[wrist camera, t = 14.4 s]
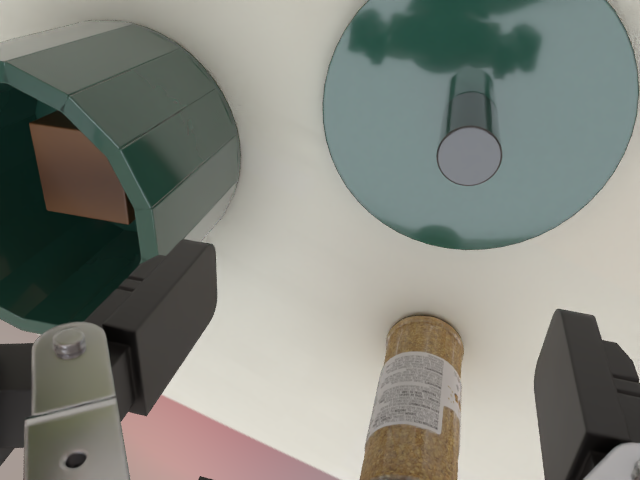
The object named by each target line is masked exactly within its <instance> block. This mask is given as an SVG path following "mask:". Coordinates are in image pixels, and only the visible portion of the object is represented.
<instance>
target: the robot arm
mask: <svg viewBox="0 0 640 480" xmlns="http://www.w3.org/2000/svg"><path fill="white" fill-rule="evenodd" d="M216 304H217V275H216V251H215V247H214V245H212V244H208V243H203V242H198V241H192V240H187V239H182V240H181V241H180V242H179V243H178V244H177V245H176V246H175V247H174V248H173V249H172V250H171V251H170V252H169V253H168V254H167V255H166V256H164V255H157V256H155V257H153V258H151V259H149V260H147V261H145V262H143V263H141V264H140V265H139V266H138V267H137V268H136V269H135V270H134V271H133V272H132V273H131V274H130V275H129V276H128V279H125V280H124V281H123V282H122V283H121V284H120V285H119V288H118V289H115V290H114V291H113V292H112V293H111V294H110V295H109V296H108V297H107V298H106V299H105V300H104V301H103V302H102V303H101V304H100V305H99V306H98V307H97V308H96V309H95V310H94V311H93V312H92V313H91V314H90V315H89V316H88V317H87V318H86V319H85V320H84V322H70V323H65V324H61V325H58V326H55V327H53V328H51V329H49V330H47V331H46V332H44V333H43V334H42V335H40V336H39V337H38V338H37V339H36V341H35V342H34V343H27V344H26V343H25V344H0V466H1V464H2V463H3V462H4V461H5V459H6V458H7V457H8V456H9V454H10V453H11V452H12V451H13V449H14V448H24V478H23V480H130V475H129V469H128V463H127V457H126V451H125V445H124V439H123V433H122V428H121V421H122V420H123V418H124V417H125V415H126V414H127V413H128V412H132V413H135V414H139V415H144V416H147V415H148V413H149V412H150V410H151V409H152V407H153V405H154V404H155V403H156V401H157V400H158V398H159V397H160V395H161V394H162V393H163V391H164V390H165V388H166V387H167V385H168V384H169V382H170V381H171V379H172V378H173V376H174V375H175V373H176V372H177V370H178V369H179V367H180V366H181V364H182V363H183V361H184V360H185V358H186V357H187V355H188V354H189V352H190V351H191V349H192V348H193V346H194V345H195V343H196V342H197V340H198V339H199V337H200V336H201V334H202V333H203V332H204V330H205V329H206V327H207V326H208V324H209V323H210V321H211V319H212V317H213V315H214V312H215V308H216ZM534 393H535V401H536V409H537V418H538V426H539V434H540V443H541V451H542V459H543V467H544V476H545V480H640V383H639V378H638V375H637V372H636V369H635V366H634V364H633V361H632V360H631V359H630V358H629V356H628V355H627V354H626V353H625V352H624V351H623V350H622V349H621V347H620V346H619V345H618V344H617V343H614V342H609V341H604V340H602V339H601V335H600V332H599V329H598V325H597V322H596V319H595V317H594V316H593V315H589V314H583V313H578V312H573V311H567V310H562V309H557V310H556V311H555V312H554V314H553V317H552V320H551V323H550V326H549V328H548V331H547V334H546V337H545V340H544V343H543V346H542V349H541V352H540V355H539V358H538V361H537V365H536V369H535V376H534ZM199 480H212V479H208V478H204V477H201V476H200V478H199Z"/></svg>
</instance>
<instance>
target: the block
mask: <svg viewBox="0 0 640 480" xmlns="http://www.w3.org/2000/svg"><path fill="white" fill-rule="evenodd" d="M29 127H30V132H31V136H32V141H33V146H34V151H35V156H36V161H37V166H38V171H39V175H40V180H41V185H42V190H43V195H44V200H45V205H46V209H47V210H48V211H53V212H58V213H64V214H70V215H76V216H81V217H87V218H93V219H98V220H104V221H110V222H116V223H121V224H127V225H129V224H131V223H132V222H133V221H134V220H135V212H134V208H133V206H132V204H131V202H130V200H129V198H128V197H127V195H126V193H125V191H124V189H123V187H122V185H121V183H120V182H119V180H118V178H117V176H116V174H115V172H114V170H113V168H112V166H111V165H110V163H109V161H108V159H107V157H106V156H105V155H104V154H103V153H102V152H101V151H100V150H99V149H98V148H97V147H96V146H95V145H94V144H93V143H92V142H91V141H90V140H89V139H88V138H87V137H86V136H85V135H84V134H83V133H82V132H81V131H80V130H79V129H78V128H77V127H76V126H75V125H74V124H73V123H72V122H71V121H70V120H69V119H68V118H67V117H66V116H65V115H64V114H63V113H62V112H60V111H58V110H57V111H55V112H53V113H50V114H48V115H46V116H44V117H41V118H39V119H37V120H35V121H32V122H30V123H29Z"/></svg>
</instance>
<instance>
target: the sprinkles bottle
mask: <svg viewBox="0 0 640 480" xmlns="http://www.w3.org/2000/svg"><path fill="white" fill-rule="evenodd" d="M463 354H464V348H463V344H462V341H461V338H460V336H459V334H458V333H457V332H456V330H455V329H454V328H453V327H451V326H450V325H449V324H447V323H445V322H444V321H442V320H439V319H437V318H435V317H430V316H412V317H408V318H404V319H403V320H401V321H399V322H398V323H397V324H395V326H393V327H392V329H391V330H390V332H389V333H388V336H387V340H386V356H385V362H384V366H383V368H382V371H381V374H380V378H379V383H378V387H377V392H376V397H375V401H374V406H373V411H372V416H371V420H370V425H369V430H368V434H367V439H366V444H365V456H364V461H363V466H362V471H361V476H360V480H457V472H458V462H457V461H458V457H459V449H460V423H461V392H462V385H461V380H460V378H461V376H460V375H461V362H462V359H463Z"/></svg>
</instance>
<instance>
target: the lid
mask: <svg viewBox="0 0 640 480" xmlns="http://www.w3.org/2000/svg"><path fill="white" fill-rule="evenodd" d="M638 99H639V81H638V69H637V64H636V59H635V54H634V50H633V47H632V45H631V42H630V39H629V37H628V34H627V31H626V29H625V27H624V26H623V24H622V22H621V20H620V19H619V17H618V15H617V13H616V12H615V10H614V9H613V8H612V7H611V5H610V4H609V3H608V2H607V0H368V1H367V2H366V3H365V4H364V5H363V6H362V8H361V9H360V10H359V11H358V12H357V13H356V15H355V16H354V18H353V19H352V20H351V22H350V23H349V25H348V26H347V28H346V29H345V31H344V33H343V35H342V37H341V38H340V40H339V42H338V44H337V46H336V48H335V51H334V54H333V56H332V59H331V62H330V64H329V68H328V72H327V76H326V81H325V86H324V95H323V123H324V130H325V136H326V141H327V144H328V148H329V151H330V155H331V157H332V160H333V162H334V164H335V167H336V169H337V171H338V173H339V175H340V176H341V178H342V180H343V181H344V183H345V185H346V187H347V188H348V189H349V190H350V192H351V193H352V194H353V196H354V197H355V198H356V199H357V201H358V202H359V203H360V204H361V205H362V206H363V207H364V208H365V209H366V210H367V211H368V212H369V213H371V214H372V215H373V216H374V217H376V218H377V219H378V220H380V221H381V222H382V223H383V224H385V225H387V226H388V227H390V228H392V229H393V230H395V231H397V232H399V233H401V234H403V235H405V236H407V237H409V238H412V239H414V240H417V241H420V242H423V243H426V244H429V245H434V246H439V247H444V248H450V249H462V250H480V249H491V248H498V247H504V246H508V245H512V244H516V243H520V242H523V241H526V240H528V239H531V238H534V237H537V236H539V235H541V234H543V233H545V232H547V231H549V230H551V229H553V228H555V227H557V226H558V225H560V224H561V223H563V222H564V221H566V220H568V219H569V218H571V217H572V216H573V215H575V214H576V213H577V212H578V211H579V210H581V209H582V208H583V207H584V206H585V205H587V204H588V203H589V202H590V201H591V200H592V199H593V198H594V196H595V195H596V194H597V193H598V192H599V191H600V190H601V189H602V188H603V186H604V185H605V184H606V182H607V181H608V180H609V178H610V177H611V176H612V174H613V173H614V171H615V170H616V168H617V166H618V164H619V163H620V161H621V159H622V157H623V155H624V153H625V151H626V148H627V146H628V143H629V141H630V138H631V136H632V132H633V128H634V124H635V120H636V116H637V109H638Z"/></svg>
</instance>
